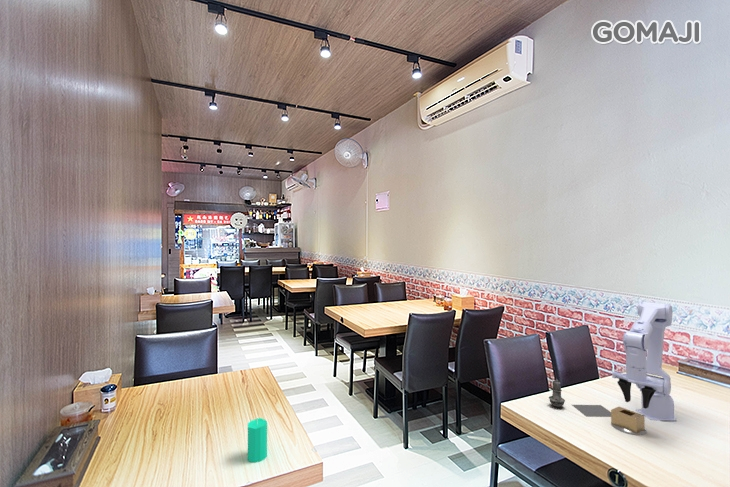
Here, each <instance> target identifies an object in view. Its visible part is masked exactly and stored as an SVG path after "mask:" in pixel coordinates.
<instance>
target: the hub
mask: <svg viewBox="0 0 730 487" xmlns="http://www.w3.org/2000/svg"><path fill="white" fill-rule="evenodd" d="M610 425H611V426H612V427H613V429H615V430H617V431H618V432H621V433H624V434H627V435H632V436H644V435H646V434H647V431H646V429H645V430H643V431H641V432H639V433H637V434H636V433H634V432H631V431H629V430H626V429H624V428H621V427H619V426H616V425H614V424H612V423H611V422H610Z"/></svg>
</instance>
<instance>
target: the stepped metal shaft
mask: <svg viewBox="0 0 730 487" xmlns="http://www.w3.org/2000/svg"><path fill="white" fill-rule="evenodd" d="M561 385H562V383H561V381H559V380H558V378H555V380H553V381H552V388H551V390H552V395H550V396H548V399H549V402H550V403H551V405H550V407H551V408H552V409H554V410H555V409H556V410H563V409H564V407H563V406H564V404H565V402H566V399H564V398H563V397H562V389H561V388H562V386H561Z"/></svg>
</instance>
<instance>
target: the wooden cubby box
mask: <svg viewBox="0 0 730 487" xmlns="http://www.w3.org/2000/svg"><path fill="white" fill-rule="evenodd" d="M610 412H611V417H610V419H611V420H610V424H611V423H612V424H614V425H616V426H619V427H621V428H624V429H626V430H629V431H631V432H634V433H636V434H637V433H639V432H641V431H643V430H646V429H645V428H646V427H645V424H646V423H645V416H644V415H642V414H641V413H639V412H637V411H633V410H630V409H627V408H624V407H621V406H617V407H614V408H612V409H610Z"/></svg>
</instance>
